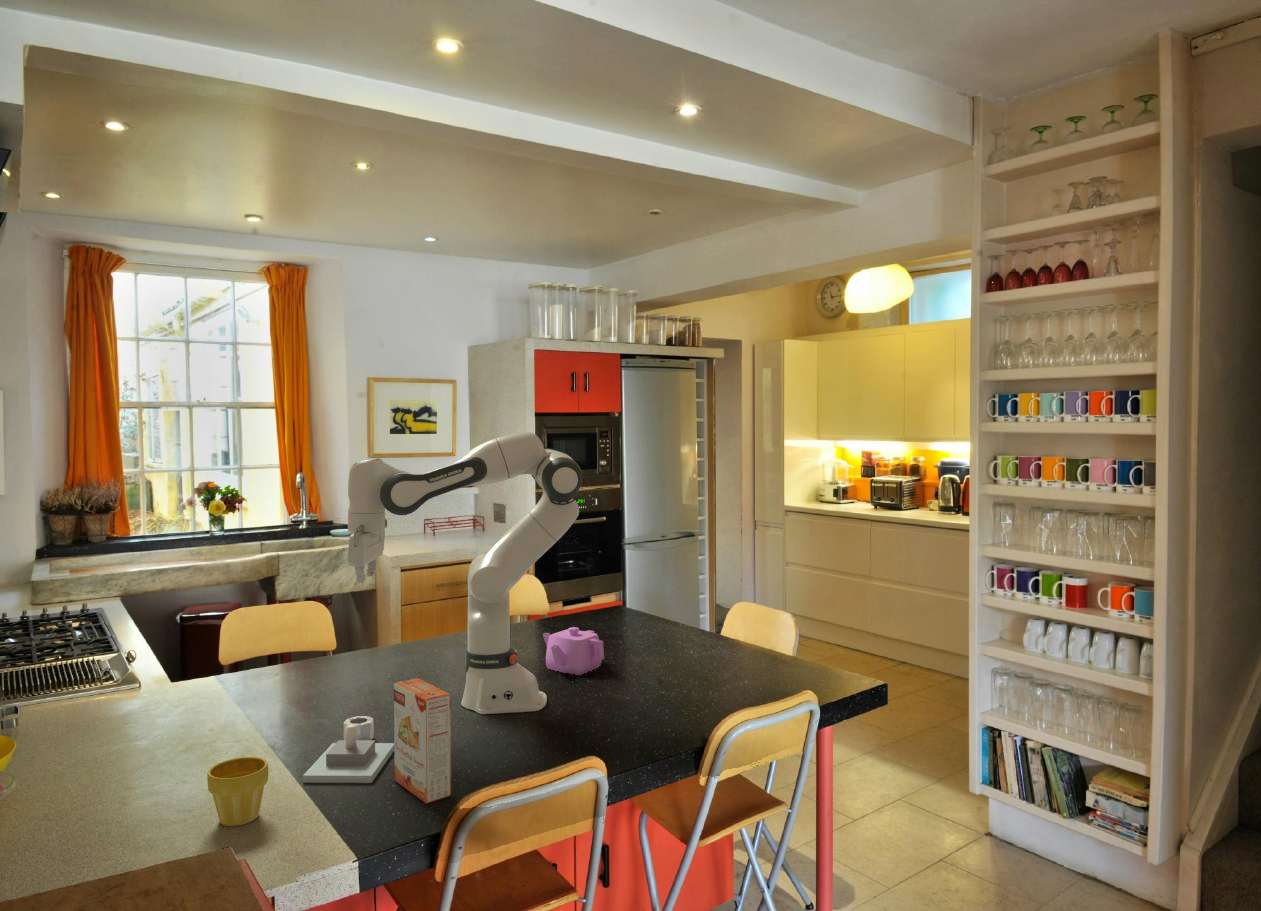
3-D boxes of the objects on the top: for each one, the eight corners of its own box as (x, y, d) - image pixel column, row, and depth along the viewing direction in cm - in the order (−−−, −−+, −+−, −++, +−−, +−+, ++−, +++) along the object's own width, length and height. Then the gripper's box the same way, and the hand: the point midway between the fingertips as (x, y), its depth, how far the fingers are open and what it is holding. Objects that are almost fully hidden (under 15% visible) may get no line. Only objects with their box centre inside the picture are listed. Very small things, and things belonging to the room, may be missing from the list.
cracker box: (392, 782, 176) (392, 681, 175) (419, 774, 180) (419, 676, 179) (424, 805, 165) (424, 698, 164) (452, 797, 169) (452, 692, 168)
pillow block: (394, 749, 193) (394, 712, 193) (371, 782, 175) (371, 742, 175) (332, 749, 193) (332, 712, 193) (303, 782, 175) (302, 741, 175)
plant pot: (194, 825, 156) (194, 772, 156) (238, 802, 166) (238, 752, 165) (238, 835, 152) (237, 781, 152) (281, 811, 162) (280, 760, 162)
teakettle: (606, 674, 253) (606, 633, 253) (549, 677, 249) (549, 636, 249) (595, 659, 270) (595, 620, 270) (541, 662, 266) (542, 622, 266)
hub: (375, 734, 202) (375, 716, 202) (368, 744, 196) (368, 725, 196) (349, 734, 202) (349, 716, 202) (341, 744, 196) (340, 725, 196)
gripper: (368, 528, 202) (367, 586, 203) (388, 519, 223) (388, 572, 223) (341, 528, 202) (341, 586, 202) (364, 519, 222) (364, 572, 223)
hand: (366, 579), depth 213 cm, fingers open, 8 cm apart
